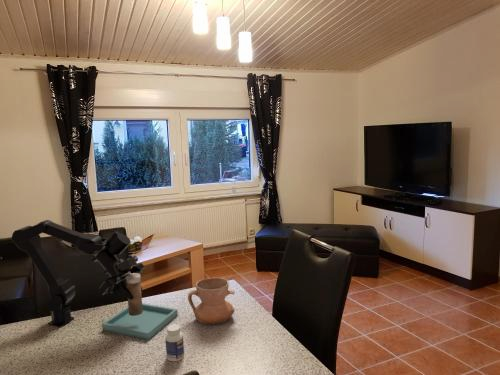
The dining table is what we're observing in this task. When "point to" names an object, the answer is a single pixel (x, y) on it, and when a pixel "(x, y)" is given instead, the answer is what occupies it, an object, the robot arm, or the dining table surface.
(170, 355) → the pill bottle
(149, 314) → the tray
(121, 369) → the dining table surface
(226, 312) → the ceramic jug
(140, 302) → the shaker
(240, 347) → the dining table surface
